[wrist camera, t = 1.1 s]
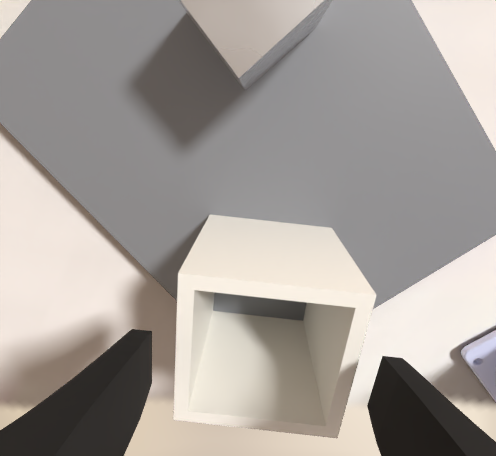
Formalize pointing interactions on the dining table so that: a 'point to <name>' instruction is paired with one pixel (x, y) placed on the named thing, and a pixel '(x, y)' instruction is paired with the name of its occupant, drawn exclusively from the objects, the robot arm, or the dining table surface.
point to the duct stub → (254, 30)
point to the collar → (269, 328)
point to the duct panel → (254, 135)
